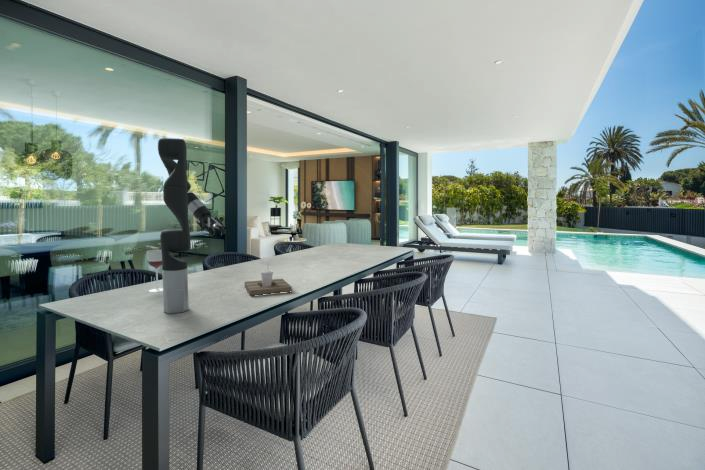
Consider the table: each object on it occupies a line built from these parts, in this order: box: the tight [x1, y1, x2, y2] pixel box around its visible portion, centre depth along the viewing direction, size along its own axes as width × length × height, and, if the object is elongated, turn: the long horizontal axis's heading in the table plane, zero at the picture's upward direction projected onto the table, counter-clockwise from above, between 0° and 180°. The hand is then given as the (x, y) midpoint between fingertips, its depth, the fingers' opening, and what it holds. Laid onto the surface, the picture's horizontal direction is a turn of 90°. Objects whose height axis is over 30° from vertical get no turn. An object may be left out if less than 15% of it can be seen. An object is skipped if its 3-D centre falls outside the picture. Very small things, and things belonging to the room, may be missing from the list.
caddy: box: [244, 278, 293, 297], centre depth 181 cm, size 20×20×3 cm
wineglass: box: [145, 248, 163, 293], centre depth 178 cm, size 8×9×20 cm
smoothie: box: [260, 262, 274, 287], centre depth 181 cm, size 6×6×14 cm
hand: (219, 233), depth 178 cm, fingers open, 8 cm apart
